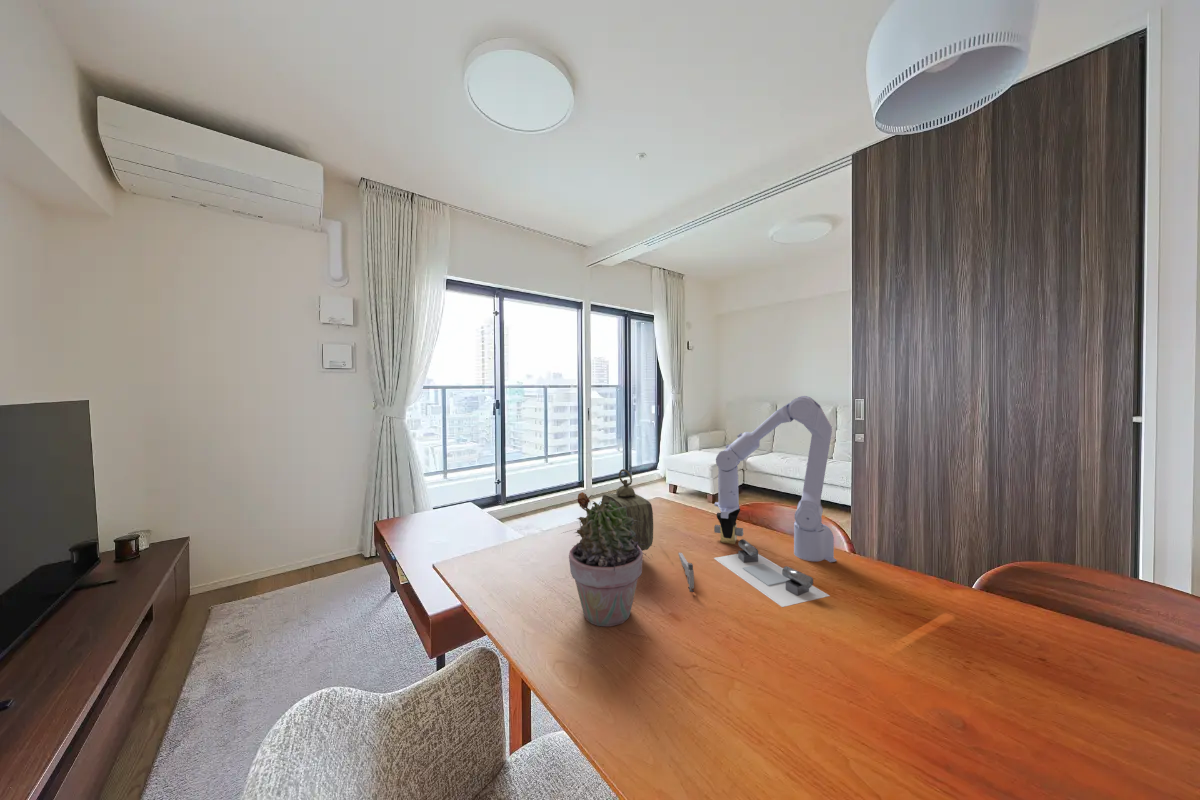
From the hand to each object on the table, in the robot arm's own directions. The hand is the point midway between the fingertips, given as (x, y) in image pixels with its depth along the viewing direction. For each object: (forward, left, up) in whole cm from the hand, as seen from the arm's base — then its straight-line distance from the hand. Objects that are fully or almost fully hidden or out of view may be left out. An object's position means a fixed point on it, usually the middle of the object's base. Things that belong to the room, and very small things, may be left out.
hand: (728, 535), depth 119 cm
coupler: (0, 0, -2) cm, 2 cm away
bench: (+5, +21, -3) cm, 22 cm away
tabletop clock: (+32, -1, -3) cm, 32 cm away
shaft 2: (+3, +29, -2) cm, 30 cm away
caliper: (+21, +11, -3) cm, 24 cm away
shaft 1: (+3, +12, -2) cm, 13 cm away
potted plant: (+45, +22, -3) cm, 50 cm away
